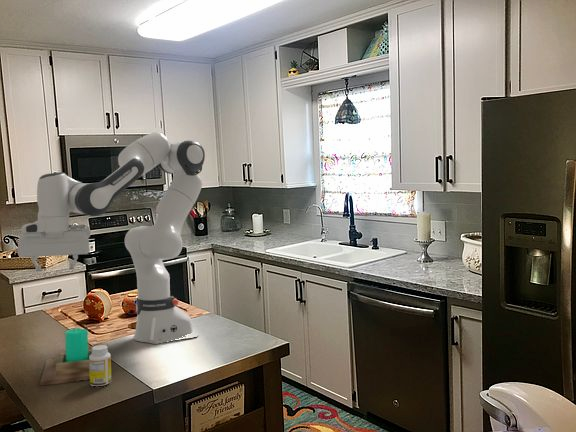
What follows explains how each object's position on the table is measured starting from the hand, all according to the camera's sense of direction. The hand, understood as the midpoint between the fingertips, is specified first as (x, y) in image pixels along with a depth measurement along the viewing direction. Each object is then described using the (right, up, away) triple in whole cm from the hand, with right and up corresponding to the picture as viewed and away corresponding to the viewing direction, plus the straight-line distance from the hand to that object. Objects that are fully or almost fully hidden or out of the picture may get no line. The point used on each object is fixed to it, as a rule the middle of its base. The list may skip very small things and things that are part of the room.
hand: (55, 270), depth 160 cm
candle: (+10, -27, -9) cm, 31 cm away
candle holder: (+11, -28, -9) cm, 32 cm away
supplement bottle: (+21, -29, -19) cm, 41 cm away
